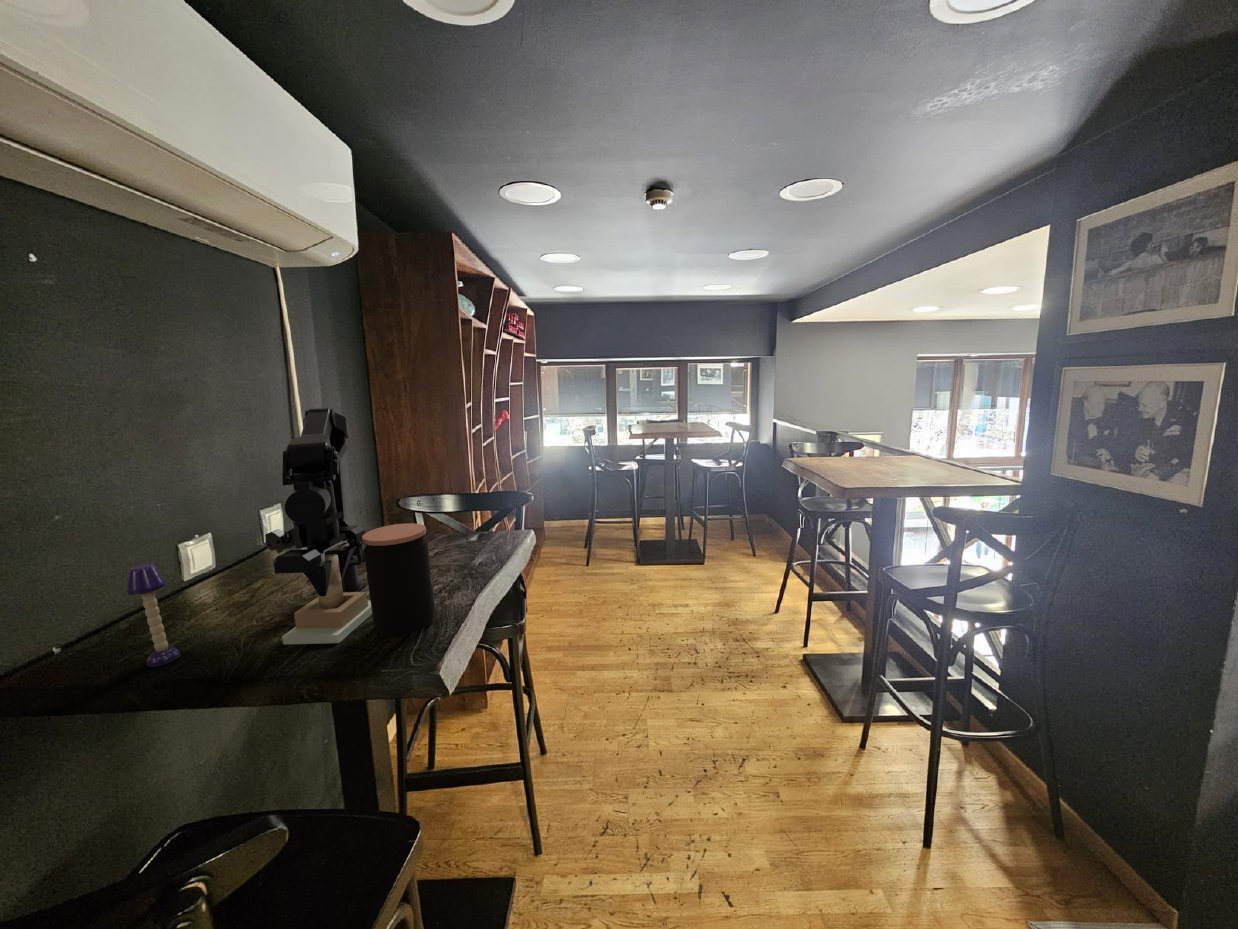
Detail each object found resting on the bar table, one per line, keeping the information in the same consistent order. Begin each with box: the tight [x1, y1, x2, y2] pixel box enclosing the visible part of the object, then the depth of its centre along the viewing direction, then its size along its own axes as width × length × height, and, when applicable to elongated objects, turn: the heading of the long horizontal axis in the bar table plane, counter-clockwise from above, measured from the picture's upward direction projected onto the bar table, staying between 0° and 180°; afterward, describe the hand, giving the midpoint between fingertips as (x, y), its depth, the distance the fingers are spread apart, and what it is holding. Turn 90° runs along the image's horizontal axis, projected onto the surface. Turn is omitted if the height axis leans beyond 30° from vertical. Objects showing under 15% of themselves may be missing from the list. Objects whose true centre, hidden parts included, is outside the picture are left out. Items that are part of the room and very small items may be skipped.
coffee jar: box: [362, 522, 436, 637], centre depth 90 cm, size 11×11×18 cm
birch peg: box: [317, 554, 344, 609], centre depth 91 cm, size 4×4×9 cm
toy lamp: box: [126, 562, 181, 668], centre depth 81 cm, size 5×5×17 cm
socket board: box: [281, 591, 372, 645], centre depth 92 cm, size 14×10×4 cm
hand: (330, 591), depth 92 cm, fingers closed on birch peg, 4 cm apart
